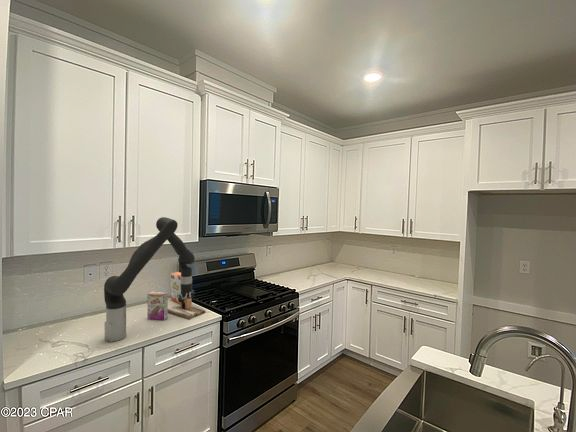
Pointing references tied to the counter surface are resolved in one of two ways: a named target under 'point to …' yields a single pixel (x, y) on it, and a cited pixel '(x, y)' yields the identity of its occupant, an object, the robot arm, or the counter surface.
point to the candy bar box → (157, 305)
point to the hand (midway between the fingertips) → (186, 306)
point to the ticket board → (185, 312)
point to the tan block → (188, 303)
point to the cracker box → (175, 286)
